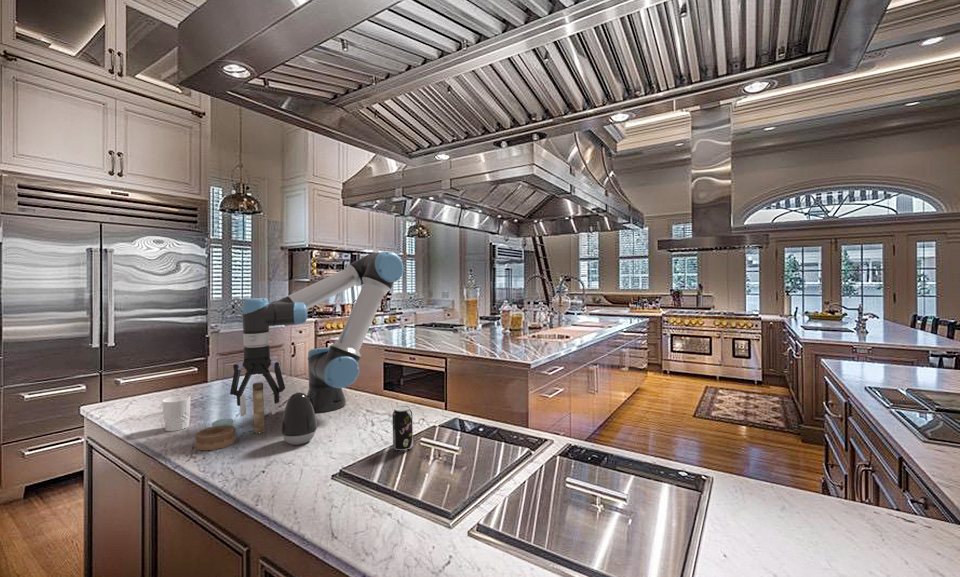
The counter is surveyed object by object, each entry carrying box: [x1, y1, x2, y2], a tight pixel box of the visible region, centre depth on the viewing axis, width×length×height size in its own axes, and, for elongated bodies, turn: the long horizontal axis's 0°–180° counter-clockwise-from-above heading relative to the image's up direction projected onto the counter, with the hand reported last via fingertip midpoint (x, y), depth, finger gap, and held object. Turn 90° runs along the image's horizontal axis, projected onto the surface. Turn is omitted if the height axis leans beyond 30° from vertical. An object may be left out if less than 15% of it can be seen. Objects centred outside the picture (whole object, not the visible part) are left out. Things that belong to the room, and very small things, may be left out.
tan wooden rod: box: [252, 382, 266, 434], centre depth 140 cm, size 3×3×16 cm
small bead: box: [211, 418, 234, 427], centre depth 141 cm, size 6×6×4 cm
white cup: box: [161, 395, 191, 432], centre depth 146 cm, size 8×8×10 cm
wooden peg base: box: [194, 425, 236, 451], centre depth 131 cm, size 10×10×4 cm
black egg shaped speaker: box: [280, 391, 318, 446], centre depth 131 cm, size 10×10×15 cm
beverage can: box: [391, 405, 414, 451], centre depth 125 cm, size 6×6×12 cm
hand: (258, 414), depth 140 cm, fingers open, 9 cm apart
